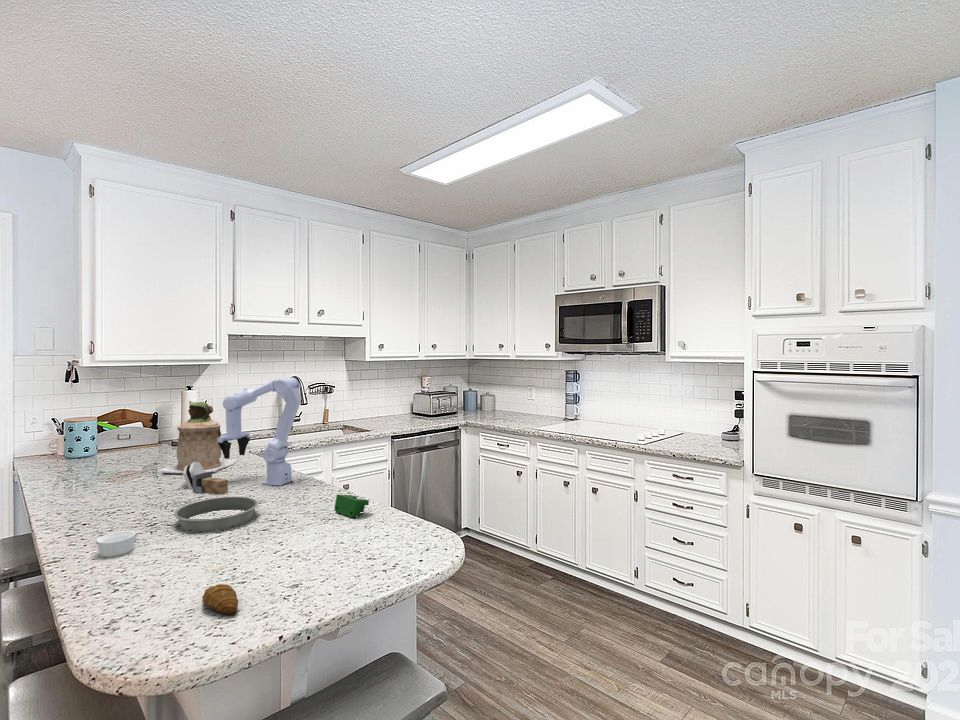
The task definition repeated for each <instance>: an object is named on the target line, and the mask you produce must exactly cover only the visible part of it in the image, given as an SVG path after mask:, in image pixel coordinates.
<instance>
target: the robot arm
mask: <svg viewBox="0 0 960 720" xmlns="http://www.w3.org/2000/svg"><path fill="white" fill-rule="evenodd" d="M300 391H301V384H300V382H299V381H298V379H297V378H295V377H292V376H291V377H286V378H278V379H275V380H272V381H269V382H267V383H265V384H263V385H261V386H259V387H256V388H255V389H252V388H248V387H247V388H244V389H243V391H240V392H239V393H238V392H236V393H234V394H233V396H226V397H225V398H224V399H223V401H222V407H223V408H224V409H225V424H226V425H225V426H226V427H225V429H226V432H225V433H226V434H225V435H223V436H221V437H219V438H218V445H219V446H220V448H221V453H222V455H223V457H224V460H229V459H230V458H231V457H230V456H231V455H230V454H231V453H230V451H231V446H232V442H230V441H233V440H234V441H235V440H237V441H236V442H237V444H238V453H239V456H245V453H246V451H247V450H246V449H247V447H248V444H249V443H250V441H251V438H250V437H251V432H248V431H247V432H242V409H243V407H244V406H247V405H250V404H252V403H253V402H256V401H257V400H258V397H261V396H263V395H265V394H268V393H271V392H274V393H275V392H276V394H278V395H279V396H280V398H282V399H283V400H284V402H285V404H284V407H283V410H282V414H281V415H280V419H279V421H278V424H277V427H276V429H275V433H274V436H273V438H272V439H271V440H270V442H269V443H268V444H267V447H266V448H265V449H264V450H263V453H262V457H263V459H264V460H265V463H266V481H263V482H261V483H262V485H270V486H276V485H280V486H282V485H281V484H283V485H285V484H284V483H286V484H288V483H287V482H289V481H292V480H293V479H292V465H291V464H290V462H289V463H288V461H286V457H287V456H288V453H289V442H288V439H289V436H290V433H291V430H292V427H293V424H294V421H295V418H296V417H297V416H296V415H297V413H298V410H299V408H300V405H301V402H302V399H301V392H300ZM289 483H290V482H289Z"/></svg>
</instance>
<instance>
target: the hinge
mask: <svg viewBox="0 0 960 720" xmlns="http://www.w3.org/2000/svg"><path fill="white" fill-rule="evenodd" d="M201 473H205V472H204V470H203V468H202V466H201V464H200V462H194V463H192V464H189V465H187V466H186V467H185V468H184V471H183V473H182V474H183V477H184V480H185V482H186V484H187V487H188V490H193V479H192V476H194V475H197V474H201Z"/></svg>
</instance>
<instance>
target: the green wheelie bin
mask: <svg viewBox="0 0 960 720" xmlns="http://www.w3.org/2000/svg"><path fill="white" fill-rule="evenodd" d="M334 503H335V504H334V511H336V512H335V513H337V512H338V514H340V513H341V514H340V515H343V514H344V515H343V516H346V515H347V516H346V517H349V518H357V517H356V516H358V517H359V515H360V514H361V513H360V512H363V513H364V512H365V508H366V507H365V506H369V504H370V500H368V499H365V498H363V499H362V498H358V497H357V496H355V495H352V494H351V495H350V494H336V497H335V502H334Z"/></svg>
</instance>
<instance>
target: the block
mask: <svg viewBox="0 0 960 720" xmlns="http://www.w3.org/2000/svg"><path fill="white" fill-rule="evenodd" d="M201 480H202V486H203V487H204V493H205V492H206V493H207V494H212V493H213V495H218V494H219V495H220V494H221V495H224V494H228V493H227V492H229V488H228V487H229V485H228V482H229V481H228V479H225V478H218V477H212V478H211V477H208V478H204V479H201ZM206 493H205V494H206Z"/></svg>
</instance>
